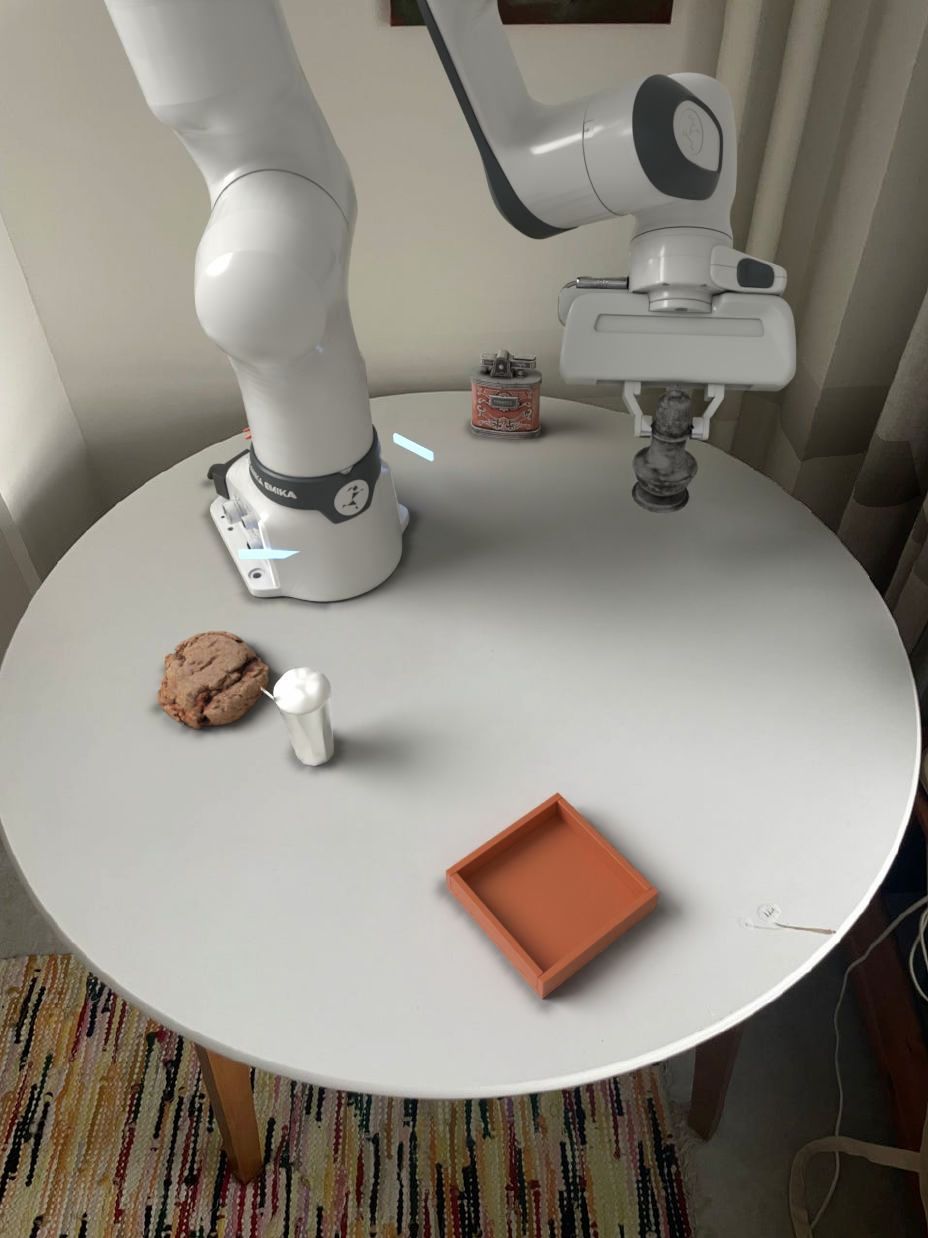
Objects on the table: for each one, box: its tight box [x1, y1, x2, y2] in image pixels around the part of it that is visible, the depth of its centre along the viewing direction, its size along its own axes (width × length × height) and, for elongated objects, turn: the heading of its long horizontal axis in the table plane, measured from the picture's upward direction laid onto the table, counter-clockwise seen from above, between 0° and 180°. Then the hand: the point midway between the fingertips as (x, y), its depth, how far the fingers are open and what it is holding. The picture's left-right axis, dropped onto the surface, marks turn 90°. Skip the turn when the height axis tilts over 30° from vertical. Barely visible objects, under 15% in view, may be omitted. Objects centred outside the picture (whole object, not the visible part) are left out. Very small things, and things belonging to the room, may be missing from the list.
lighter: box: [469, 349, 543, 440], centre depth 115 cm, size 8×3×10 cm, turn 80°
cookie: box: [157, 630, 270, 730], centre depth 92 cm, size 10×11×3 cm
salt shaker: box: [631, 384, 699, 514], centre depth 91 cm, size 6×6×12 cm
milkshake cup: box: [260, 667, 335, 767], centre depth 84 cm, size 4×5×10 cm
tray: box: [445, 792, 660, 1000], centre depth 77 cm, size 11×11×2 cm
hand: (670, 438), depth 90 cm, fingers closed on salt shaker, 3 cm apart
